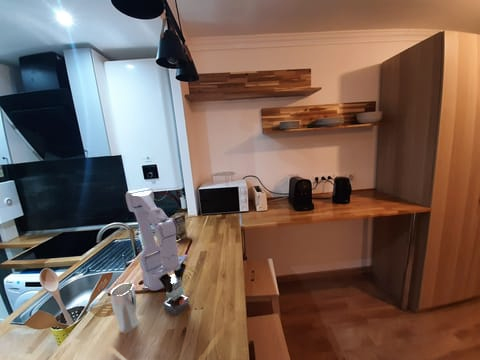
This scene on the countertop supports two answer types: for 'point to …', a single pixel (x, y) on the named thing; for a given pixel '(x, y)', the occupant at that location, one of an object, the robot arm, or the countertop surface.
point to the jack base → (176, 310)
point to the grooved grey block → (175, 287)
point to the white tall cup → (124, 306)
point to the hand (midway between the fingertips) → (174, 287)
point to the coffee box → (180, 226)
